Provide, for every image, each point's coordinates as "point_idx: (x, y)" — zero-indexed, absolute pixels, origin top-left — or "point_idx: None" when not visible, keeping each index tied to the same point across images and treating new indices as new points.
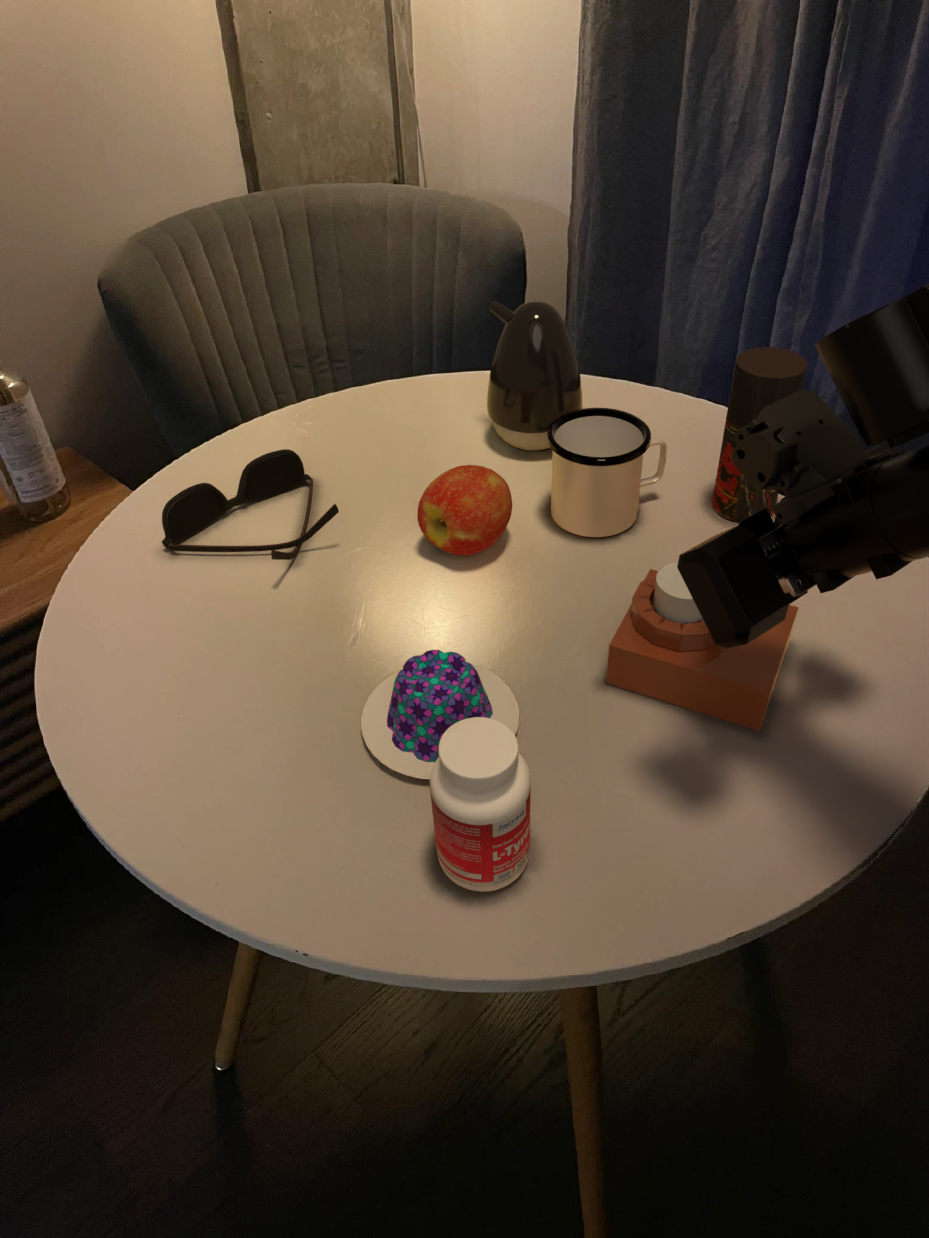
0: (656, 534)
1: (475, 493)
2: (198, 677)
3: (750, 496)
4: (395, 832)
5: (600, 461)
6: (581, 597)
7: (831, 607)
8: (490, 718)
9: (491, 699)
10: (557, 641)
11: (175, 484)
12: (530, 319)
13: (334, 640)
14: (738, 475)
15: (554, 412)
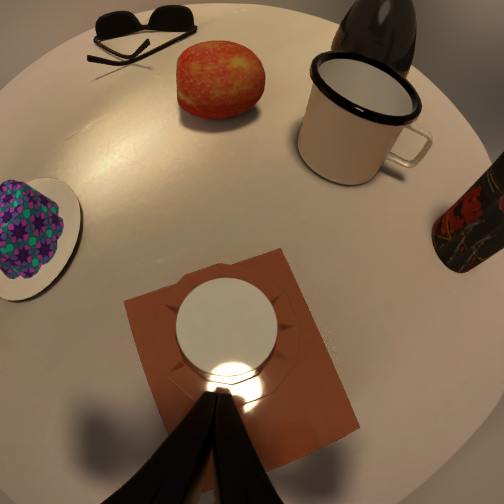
0: (367, 209)
1: (206, 63)
2: (15, 117)
3: (461, 247)
4: None
5: (336, 98)
6: (232, 214)
7: (414, 406)
8: (44, 264)
9: (59, 249)
10: (159, 240)
11: (147, 14)
12: None
13: (66, 129)
14: (466, 222)
15: None
